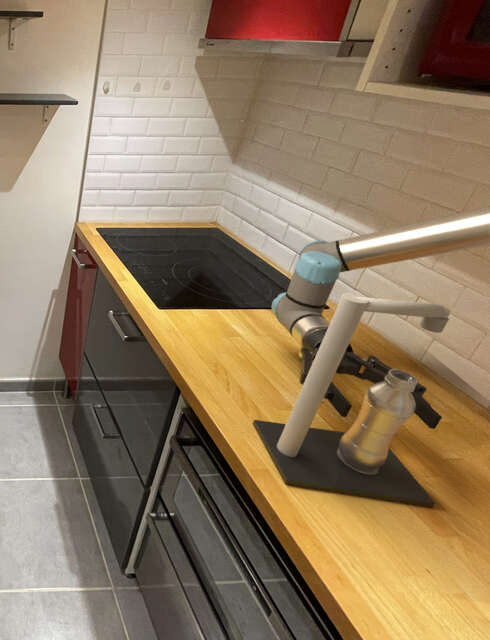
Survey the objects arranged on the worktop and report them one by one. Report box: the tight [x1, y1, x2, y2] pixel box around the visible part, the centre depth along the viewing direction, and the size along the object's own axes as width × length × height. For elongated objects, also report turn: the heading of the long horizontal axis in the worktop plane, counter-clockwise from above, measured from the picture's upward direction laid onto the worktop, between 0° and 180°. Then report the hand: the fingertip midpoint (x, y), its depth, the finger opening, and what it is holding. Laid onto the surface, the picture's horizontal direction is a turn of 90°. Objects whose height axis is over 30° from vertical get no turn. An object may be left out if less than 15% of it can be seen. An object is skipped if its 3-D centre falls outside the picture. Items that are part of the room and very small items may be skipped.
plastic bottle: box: [339, 368, 419, 470], centre depth 79 cm, size 6×7×20 cm
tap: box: [252, 292, 451, 509], centre depth 77 cm, size 23×14×35 cm, turn 80°
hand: (390, 417), depth 77 cm, fingers open, 13 cm apart
